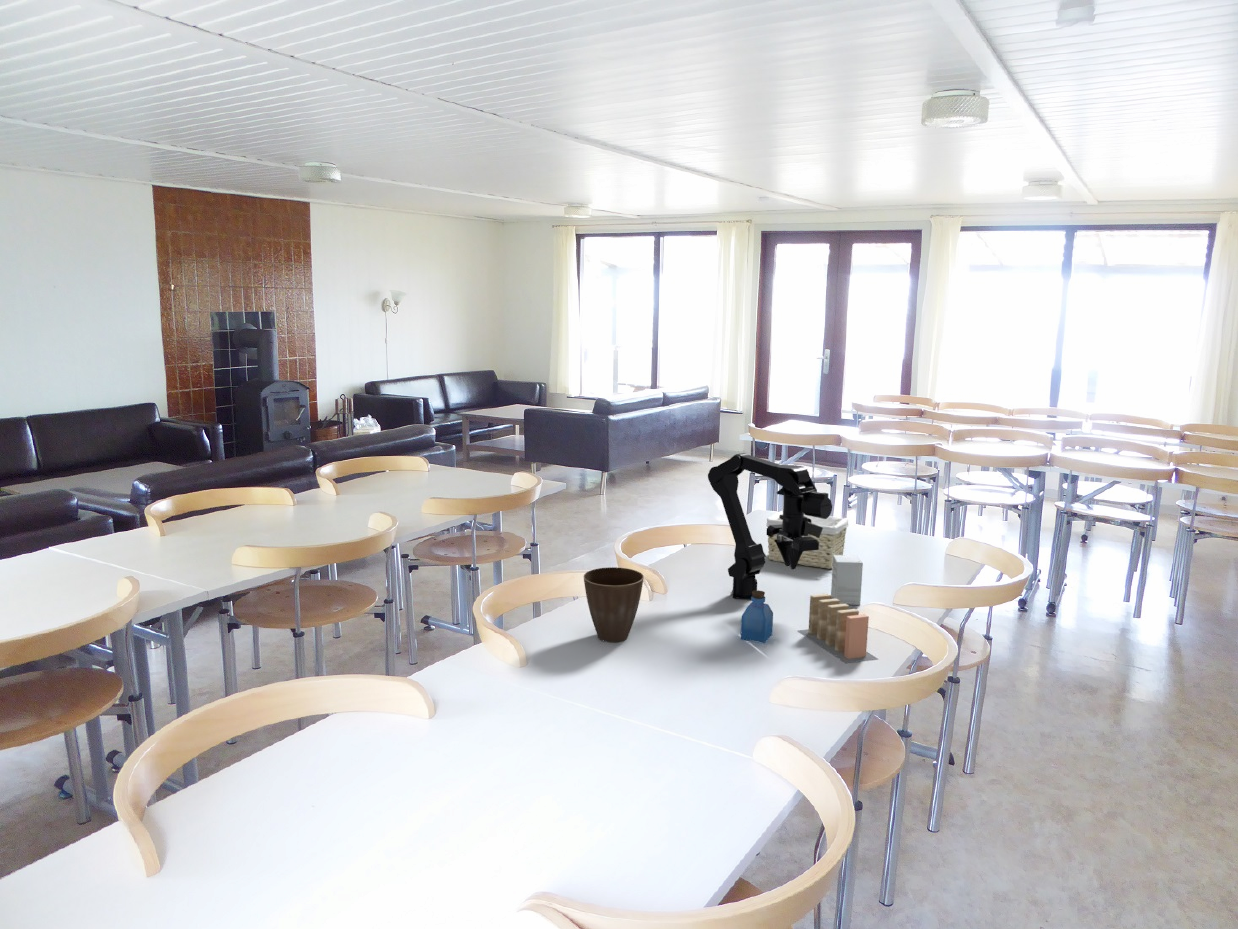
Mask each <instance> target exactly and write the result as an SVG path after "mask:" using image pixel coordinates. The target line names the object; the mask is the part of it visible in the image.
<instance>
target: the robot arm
mask: <svg viewBox="0 0 1238 929" xmlns="http://www.w3.org/2000/svg"><path fill="white" fill-rule="evenodd" d="M744 471H747V472H751V473H754V474H757V475H759V476H763V477H767V478H769V479H771V480H774V481H775V482H776V484H778V485H779V486H781V488H780V489H779V490H778V491H776V494H777V495H779V496H783V499H782V500H783V501H782V502H783V503H782V511H783V515H780V519H782V524H780V525H769V527H766V536H767V537H768V536H770V537H773V536H774V534H776V535H777V539H775V540H774V541H775V542H776V544H777V546H778V548H779V551H780V553H781V555H782V558H783V560H784V562H783V563H784V564H785V567H790V568H791V569H790V570H795V569H797V566H798V565H799V564H798V561H799V559H800V557H801V554H802V553H803V551H812V550H819V541H818V540H817V539H814V538H812V537H802V536H808V534H810V535H813V536H816V537H817V538H820V535H821V532H822V530H823V527H820V526H818V525H816V524H813V523H811V519H809V518H807V517H805V516H804V514H805V515H807V516H812V517H817V518H822V519H827V518H828V517H829V516H831V514H832V511H833V504H832V503H833V502H832V500H831V499H830V498H829V493H827V492H820V491H818V490H817V487H816V486H815V484H814V482H813V480H812V478H811V476H810V472H809V470H808V468H807V467H805V466H802V465H796V464H793V465H792V464H781V463H780V464H779V463H777V462H776V463H775V462H774V461H770V460H766V459H763V458H760V457H757V456H753V455H750V454H749V453H747V452H742V453H737V454H734V455H733V456H731V458H729V459H728V460H726V461H725V460H724V462H722V463H720V464H718V465H716V466H713V467H711V468H710V469H709V470H708V473H707V479H708V482H709V483H710V484H709V485H710V486H711V487H712V490H713V492H715V493H716V494H717V496H719V497H720V499H721V502H722V506H723V509H724V511H725V515H726V519H727V521H728V524H729V528H730V530H731V533H732V537H733V540H734V542H735V547H734V553H733V556H734V563H733V564H732V565H730V566H729V568H727V572H728V575H729V577H731V578H732V590H731V595H732V597H731V598H733V599H743V600H751V596H753V594H752V591H755V590H758V580H757V579H756V575H760V573H761V570H762V569H763V568H764V567H765V564H766V558H765V557H767V555H766V553H765V552H764V551H765V550H764V546H763V544H762V543H761V542H760V543H756V542H755V541H754V540H753V538H752V535H751V532H750V528H749V526H748V523H747V519H746V516H745V512H744V510H743V507H742V504H741V501H740V498H739V495H738V488H739V483H740V482H739V476H740V475H741V474H743V473H744Z"/></svg>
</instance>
